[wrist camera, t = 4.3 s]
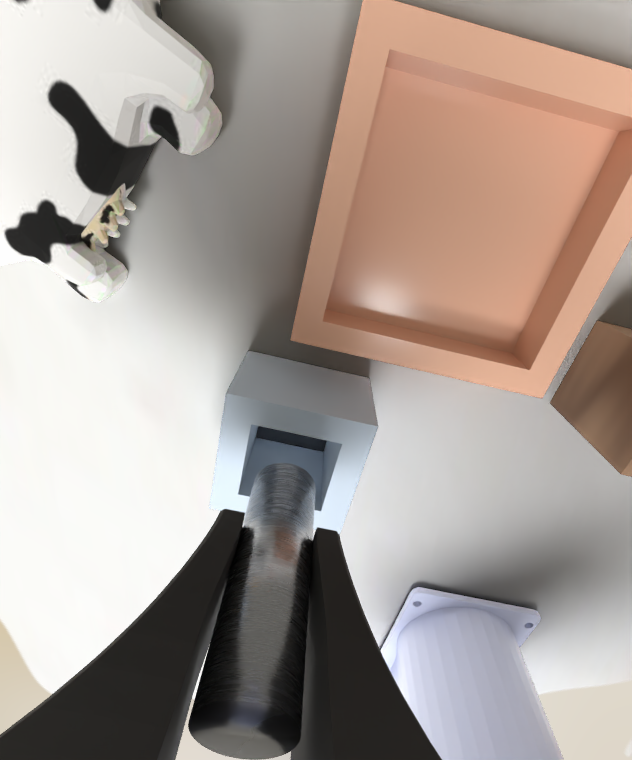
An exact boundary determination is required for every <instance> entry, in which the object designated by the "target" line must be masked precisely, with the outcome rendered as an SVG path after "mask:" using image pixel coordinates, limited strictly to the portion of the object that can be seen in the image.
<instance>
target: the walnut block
mask: <svg viewBox="0 0 632 760" xmlns="http://www.w3.org/2000/svg"><path fill="white" fill-rule="evenodd" d="M550 404H551V405H552V406H553V407H554V408H555V409H556V410H557V411H558V412H559V413H560V414H561V415H562V416H563V417H564V418H565V419H566V420H567V421H568V422H569V423H570V424H571V425H572V426H573V427H574V428H575V429H576V430H577V431H578V432H579V433H580V434H581V435H582V436H583V437H584V438H585V439H586V440H587V441H588V442H589V443H590V444H591V445H592V446H593V447H594V448H595V449H596V450H597V451H598V452H599V453H600V454H601V455H602V456H603V457H604V458H605V459H606V460H607V461H608V462H609V463H610V464H611V465H612V466H613V467H614V468H615V469H616V470H617V471H618V472H619V473H620V474H622V475H626V476H631V477H632V329H630V328H626V327H622V326H618V325H614V324H610V323H606V322H602V321H598V320H597V321H596V323H595V325H594V326H593V328H592V330H591V332H590V333H589V335H588V337H587V339H586V340H585V342H584V344H583V346H582V347H581V349H580V351H579V353H578V354H577V356H576V358H575V360H574V361H573V363H572V365H571V367H570V368H569V370H568V372H567V374H566V375H565V377H564V379H563V381H562V382H561V384H560V386H559V388H558V389H557V391H556V393H555V395H554V396H553V398H552V400H551V402H550Z"/></svg>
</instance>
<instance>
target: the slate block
mask: <svg viewBox="0 0 632 760" xmlns="http://www.w3.org/2000/svg"><path fill="white" fill-rule="evenodd" d="M258 426H261V427H266V428H271V429H275V430H280V431H285V432H289V433H294V434H298V435H303V436H308V437H312V438H317V439H322V440H326V441H327V442H326V445H325V448H324V452H322V451H317V450H312V449H308V448H303V447H298V446H294V445H289V444H284V443H280V442H275V441H270V440H266V439H261V438H256V434H257V429H258ZM377 428H378V423H377V417H376V412H375V406H374V401H373V395H372V390H371V384H370V379H369V378H367V377H363V376H359V375H354V374H350V373H345V372H341V371H337V370H332V369H328V368H323V367H319V366H315V365H310V364H306V363H301V362H297V361H293V360H288V359H284V358H280V357H275V356H271V355H266V354H262V353H258V352H253V351H249V350H248V352H247V354H246V356H245V358H244V360H243V362H242V364H241V365H240V367H239V369H238V371H237V373H236V375H235V377H234V379H233V381H232V383H231V384H230V386H229V388H228V390H227V392H226V396H225V403H224V410H223V417H222V424H221V431H220V437H219V444H218V451H217V458H216V465H215V472H214V479H213V485H212V492H211V499H210V506H209V508H210V509H215V510H220V511H221V510H223V509H230V510H235V511H239V512H244V513H246V509H247V506H248V502H249V498H250V495H251V491H252V487H253V484H254V480H255V477H256V475H257V474H258V473H259V472H260V471H261V470H262V469H263V468H265V467H266V466H269V465H271V464H275V463H290V464H294V465H297V466H299V467H301V468H303V469H304V470H306V471H307V472H308V473H309V474H310V475H311V476H312V478H313V480H314V482H315V486H316V492H315V509H314V525H313V529H314V530H316V529H317V527H319V528H324V529H329V530H334V531H337V532H338V534H339V535H340V532H341V530H342V527H343V524H344V521H345V518H346V515H347V513H348V510H349V507H350V504H351V501H352V499H353V496H354V493H355V490H356V487H357V485H358V482H359V479H360V476H361V473H362V471H363V468H364V465H365V462H366V459H367V457H368V454H369V451H370V448H371V445H372V443H373V440H374V437H375V434H376V431H377Z"/></svg>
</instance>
